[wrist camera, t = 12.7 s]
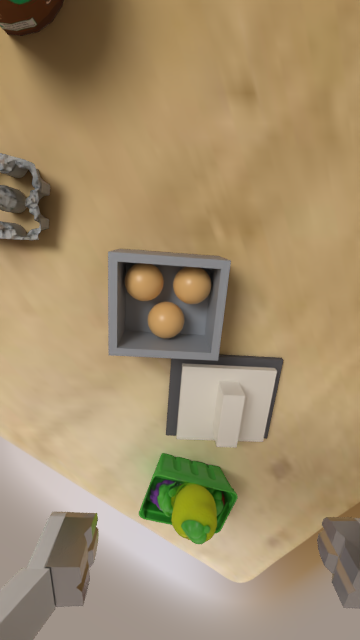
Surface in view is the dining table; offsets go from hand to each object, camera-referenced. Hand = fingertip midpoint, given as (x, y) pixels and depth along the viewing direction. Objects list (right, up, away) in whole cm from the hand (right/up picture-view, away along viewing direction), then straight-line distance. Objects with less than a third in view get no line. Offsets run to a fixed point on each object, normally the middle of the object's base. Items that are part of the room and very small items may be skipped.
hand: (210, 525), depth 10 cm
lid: (+5, -3, +25) cm, 25 cm away
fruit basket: (0, -14, +30) cm, 33 cm away
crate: (-3, +10, +22) cm, 24 cm away
